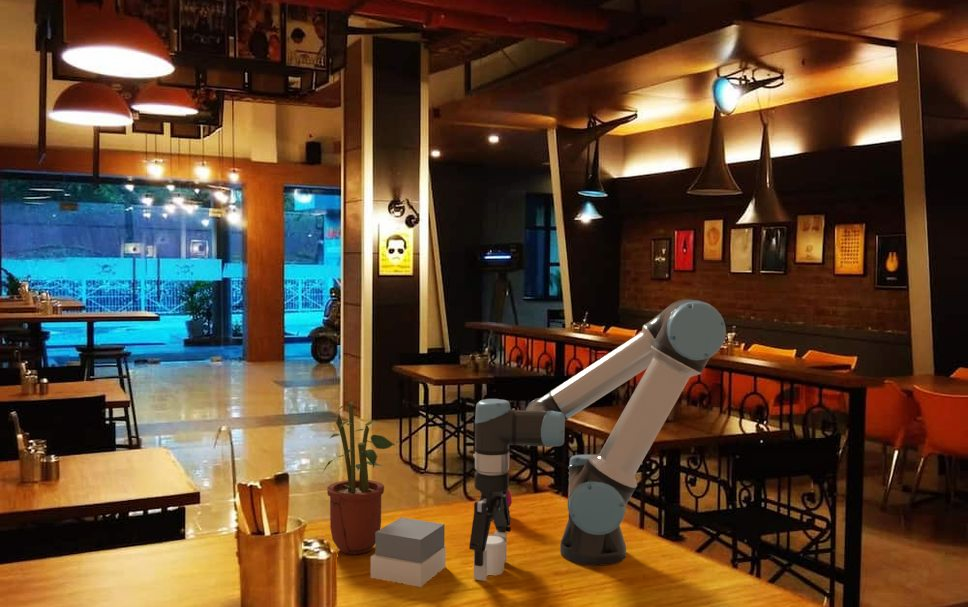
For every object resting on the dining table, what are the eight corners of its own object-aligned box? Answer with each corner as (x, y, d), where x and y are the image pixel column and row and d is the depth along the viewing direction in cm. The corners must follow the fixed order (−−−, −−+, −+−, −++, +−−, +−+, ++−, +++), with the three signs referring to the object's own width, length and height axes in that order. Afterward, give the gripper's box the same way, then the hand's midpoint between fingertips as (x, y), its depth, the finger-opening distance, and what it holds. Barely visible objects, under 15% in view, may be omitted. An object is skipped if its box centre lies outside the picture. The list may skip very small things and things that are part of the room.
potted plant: (368, 563, 178) (368, 408, 176) (307, 554, 183) (307, 403, 181) (400, 538, 194) (401, 396, 193) (344, 530, 199) (344, 392, 198)
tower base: (445, 568, 176) (445, 546, 176) (420, 588, 165) (420, 565, 165) (397, 560, 181) (397, 538, 181) (370, 579, 170) (370, 556, 170)
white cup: (494, 579, 170) (494, 547, 169) (468, 571, 174) (469, 540, 174) (512, 569, 175) (513, 538, 175) (487, 562, 179) (488, 531, 179)
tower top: (444, 546, 176) (444, 524, 176) (420, 563, 166) (420, 539, 166) (401, 539, 180) (401, 517, 180) (375, 555, 170) (375, 532, 170)
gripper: (495, 457, 186) (494, 549, 187) (453, 482, 164) (452, 586, 165) (525, 460, 183) (524, 554, 184) (487, 486, 161) (486, 592, 162)
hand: (490, 569), depth 175 cm, fingers open, 11 cm apart
